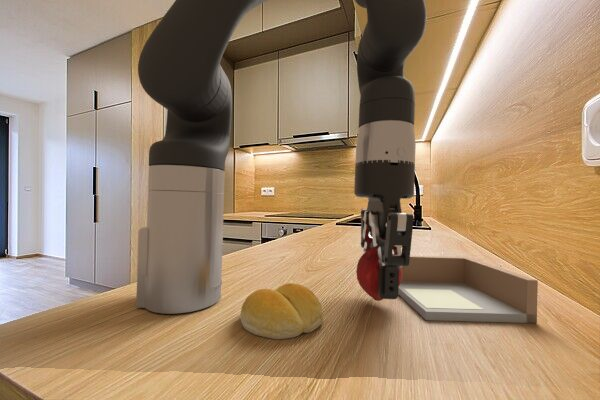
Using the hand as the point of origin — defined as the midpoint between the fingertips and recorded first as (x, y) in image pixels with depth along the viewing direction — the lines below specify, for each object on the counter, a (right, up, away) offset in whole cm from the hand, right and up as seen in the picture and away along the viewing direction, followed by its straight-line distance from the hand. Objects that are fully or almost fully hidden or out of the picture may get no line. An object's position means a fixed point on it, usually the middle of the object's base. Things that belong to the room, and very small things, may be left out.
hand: (379, 288), depth 35 cm
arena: (+11, -3, +3) cm, 11 cm away
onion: (0, -2, 0) cm, 2 cm away
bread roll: (-13, -2, -5) cm, 14 cm away
